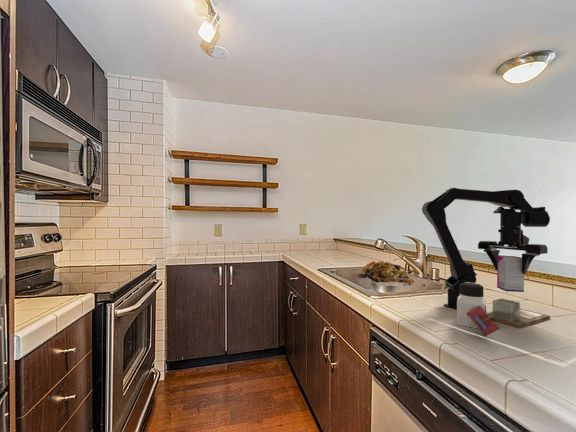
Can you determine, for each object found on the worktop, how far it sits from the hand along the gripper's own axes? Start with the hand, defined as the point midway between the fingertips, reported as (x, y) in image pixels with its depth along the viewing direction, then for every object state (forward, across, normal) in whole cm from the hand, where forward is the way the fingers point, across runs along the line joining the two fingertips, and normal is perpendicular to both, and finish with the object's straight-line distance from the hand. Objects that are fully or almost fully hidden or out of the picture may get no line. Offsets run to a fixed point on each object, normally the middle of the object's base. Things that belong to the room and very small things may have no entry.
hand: (510, 272), depth 103 cm
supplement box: (+6, 0, 0) cm, 6 cm away
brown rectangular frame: (+13, -5, +8) cm, 16 cm away
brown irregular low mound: (+14, +58, -4) cm, 60 cm away
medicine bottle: (+13, -1, +26) cm, 29 cm away
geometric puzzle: (+13, -9, +32) cm, 36 cm away
